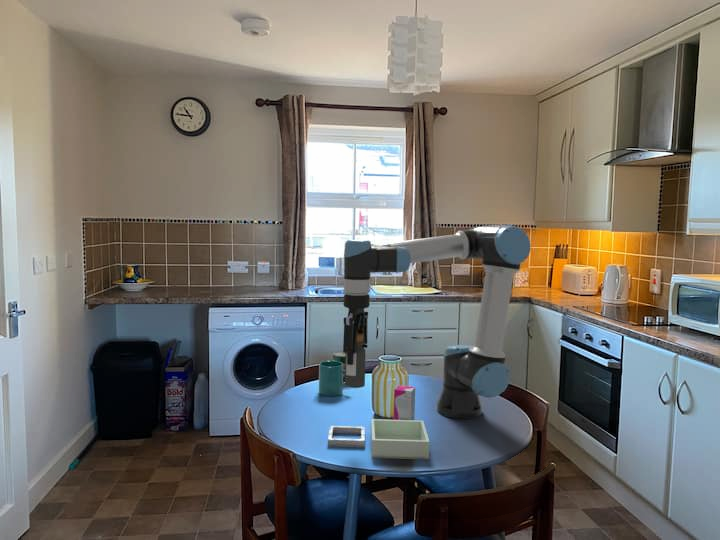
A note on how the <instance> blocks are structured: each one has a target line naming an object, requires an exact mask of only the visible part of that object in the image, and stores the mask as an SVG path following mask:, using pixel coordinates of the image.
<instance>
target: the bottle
mask: <svg viewBox="0 0 720 540" xmlns="http://www.w3.org/2000/svg"><path fill="white" fill-rule="evenodd" d="M363 337H364V335H363V334H361V333H357V340H356V348H355V353H356V376H350V375H346V358H347V353H345V386H344V387H346V388H351V389H360V388H363V387H364V386H365V384H366V348H363V347H362V345H364V340H363Z"/></svg>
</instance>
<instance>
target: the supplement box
mask: <svg viewBox="0 0 720 540" xmlns="http://www.w3.org/2000/svg"><path fill="white" fill-rule="evenodd" d="M393 393H394V394H393V418H392V420H415V411H416V409H415V408H416V406H415V405H416V387H415V386H409V385H400V386H399V385H398V386H397V387H395V388H394V390H393Z"/></svg>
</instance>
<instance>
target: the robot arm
mask: <svg viewBox="0 0 720 540" xmlns="http://www.w3.org/2000/svg"><path fill="white" fill-rule="evenodd" d="M531 246H532V245H531V240H530V237H529V236H528V235H527V232H526V231H525V230H524V229H522V228H520V227H518V226H515V225H510V224H507V225H506V224H505V225H504V224H503V225H501V224H498V225H492V224H488V225H487V224H486V225H481V226H478V227H473V228H469V229H464V230H457V231H456V232H455V234H448V235H441V236H440V235H439V236H432V237H431V236H430V237H425V238H424V237H423V238H416V239H410V240H403V241H402V240H400V241H395V242H388V243H387V242H386V243H379V244H373V243H371V241H370V240H369V239H347V240H346V242H345V243H344V251H343V252H344V253H343V266H344V267H343V272H344V273H343V275H344V276H343V281H342V284H343V292H344V294H343V307H344V308H346V309H347V308H348V312H347V317H343V341H342V343H343V345H342V347H343V349H342V351H343V353H347V358H346V375H350V376H356V353H355V348H356V340H357V333H361V334H363V335H364V337H363V340H364V345H362V347H363V348H364V349H366V348H368V346H369V344H368V319H369V312H368V311H365V309H368V308H369V307H370V302H371V301H370V299H371V298H370V297H371V296H370V294H369V293H371V273H372V274H375V273H386V274H387V273H396V274H398V273H406V272H407V271H408V270H409V269H410V267H411V264H416V263H417V264H418V263H425V262H431V261H438V260H445V259H452V258H453V259H454V258H459V259H460V260H466V259H476V260H482V262H481V266H482V267H483V269H484V271H485V274H484V275H485V276H484V281H483V287H482V288H483V289H482V295H481V299H480V308H479V313H478V319H477V325H476V331H475V332H476V333H475V339H474V344H473V345H470V344H453V345H448V346H446V347H445V349H444V354H443V380H442V381H443V383H442V385H443V386H442V390H441V392H440V395H439V398H438V400H437V404H436V406H437V407H436V410H437V412H438V413H439V414H441V415H442V416H445V417H447V418H453V419H461V420H467V419H475V418H479V417H481V415H482V409H483V407H482V403H481V399H480V396H482V397H484V398H488V399H491V398H492V399H493V398H496V397H497V396H500V395H501V393H504V391H505V390H506V389H507V387H508V386H509V383H510V380H511V374H510V370H508V367H507V366H506V365H505V363H506V354H505V352H504V351H503V344H504V338H505V332H506V331H505V330H506V326H507V319H508V313H509V305H510V301H511V295H512V294H511V293H512V288H513V281H514V276H515V275H516V274H517V273H518V272H520V269H521V264H522V263H523V262H525V261H526V260H527V259H528V258H529V255H530V253H531ZM478 416H479V417H478Z"/></svg>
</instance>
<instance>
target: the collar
mask: <svg viewBox="0 0 720 540" xmlns="http://www.w3.org/2000/svg"><path fill="white" fill-rule="evenodd" d="M365 427H366V426H354V425H353V426H349V425H330V426H329V429H328V430H329V431H328V437H327V447H334V448H335V447H336V448H365V446H366V445H365V444H366V443H365V442H366V438H365V436H366V435H365V434H366V433H365V431H366V430H365V429H366V428H365ZM335 434H336V435H337V434H339V435H341V434H342V435H360V438H333V437H334V435H335Z"/></svg>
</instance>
